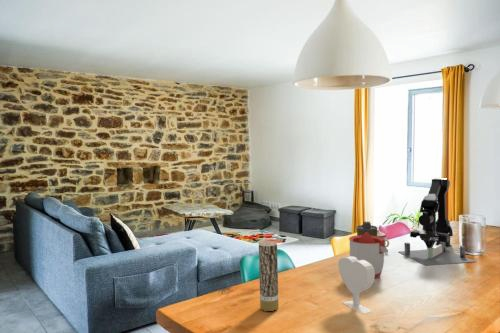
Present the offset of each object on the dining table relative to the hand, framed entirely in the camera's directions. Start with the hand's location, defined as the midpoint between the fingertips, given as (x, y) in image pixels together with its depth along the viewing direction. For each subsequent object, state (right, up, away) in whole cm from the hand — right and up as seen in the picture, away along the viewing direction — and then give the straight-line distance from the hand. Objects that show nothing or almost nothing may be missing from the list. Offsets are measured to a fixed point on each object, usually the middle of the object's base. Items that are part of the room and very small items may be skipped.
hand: (429, 252), depth 211 cm
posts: (+3, -2, +1) cm, 4 cm away
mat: (+3, -3, 0) cm, 4 cm away
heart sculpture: (-55, -7, -61) cm, 83 cm away
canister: (-34, -4, -3) cm, 34 cm away
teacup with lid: (-21, -3, +15) cm, 26 cm away
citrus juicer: (-40, -5, -27) cm, 48 cm away
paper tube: (-87, -8, -61) cm, 107 cm away
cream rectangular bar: (+4, -2, +1) cm, 4 cm away
